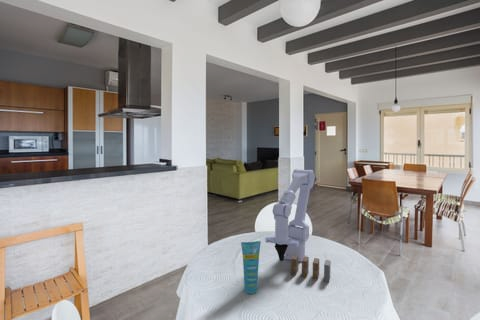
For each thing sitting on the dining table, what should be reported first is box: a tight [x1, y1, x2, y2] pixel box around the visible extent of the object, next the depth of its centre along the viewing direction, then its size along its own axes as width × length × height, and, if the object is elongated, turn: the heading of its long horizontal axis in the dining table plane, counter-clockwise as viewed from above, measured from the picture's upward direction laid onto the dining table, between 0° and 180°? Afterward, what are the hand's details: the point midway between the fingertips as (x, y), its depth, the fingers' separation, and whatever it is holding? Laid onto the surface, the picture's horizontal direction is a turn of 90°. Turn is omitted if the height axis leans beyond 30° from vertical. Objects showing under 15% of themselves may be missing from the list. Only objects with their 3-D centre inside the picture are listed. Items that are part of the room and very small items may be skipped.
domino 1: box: [290, 254, 299, 276], centre depth 111 cm, size 2×5×7 cm, turn 155°
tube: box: [240, 240, 261, 295], centre depth 97 cm, size 7×5×19 cm, turn 103°
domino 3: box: [312, 257, 320, 281], centre depth 107 cm, size 2×5×7 cm, turn 155°
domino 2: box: [301, 255, 310, 279], centre depth 109 cm, size 2×5×7 cm, turn 155°
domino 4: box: [323, 259, 332, 283], centre depth 105 cm, size 2×5×7 cm, turn 155°
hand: (281, 260), depth 113 cm, fingers closed
